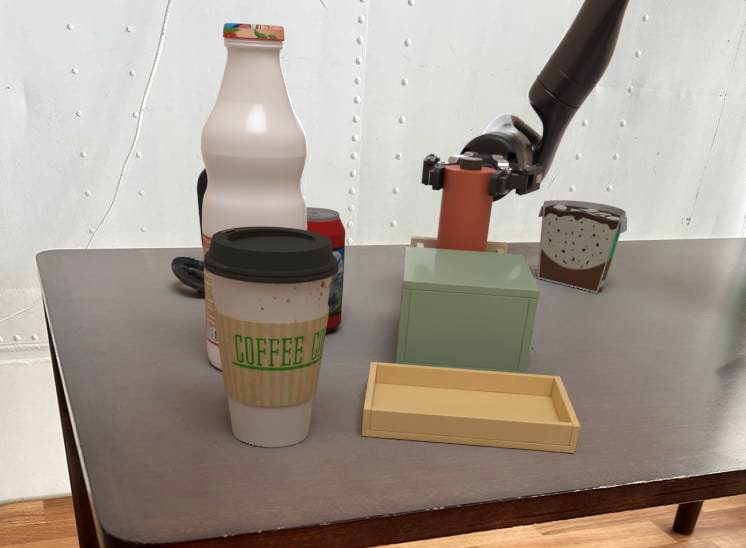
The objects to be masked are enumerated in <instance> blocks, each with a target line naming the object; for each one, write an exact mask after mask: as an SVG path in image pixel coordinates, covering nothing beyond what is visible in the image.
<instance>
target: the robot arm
mask: <svg viewBox="0 0 746 548" xmlns="http://www.w3.org/2000/svg"><path fill="white" fill-rule="evenodd" d="M744 1H745V2H746V0H744ZM629 3H630V0H583V1H582V3H581V5H580V7H579V9H578V11H577V13H576V14H575V16H574V18H573V20H572V21H571V23H570V24H569V26H568V27H567V29H566V31H565V33H564V34H563V36H562V37H561V39H560V41H558V43H557V45H556V47H554V49H553V50H552V53H551V54H550V55H549V57H548V58H547V60H546V62H544V64H543V66H542V67H541V69H540V70H539V72H538V74H537V75H536V77H534V79H533V81H532V83H531V84H530V86H529V88H528V89H527V92H526V97H527V98H526V99H527V102H528V104H529V105H530V107H531V108H532V110H533V111H534V113H535V115H537V117H538V118H539V120H540V122H541V124H542V134H540V133H539V132H537V130H535V129H533V128H532V127H531V126H530V125H529V124H527V123H526V122H525V121H524V120H523V119H521V117H519V116H518V115H516V114H514V113H511V112H502V113H501V114H499V115H497V116H496V117H495V118H494V119H492V120H491V121H490V122H489V124H488V125H487V126H486V128H485V129H484V131H483V132H482V134H479V135H477V136H476V137H474V138H472V139H470V141H468V142H467V143H466V144H465V145H464V147H463V148H462V149H461V152H460V153H459V154H457V155H449V157H448V159H447V160H441V156H438V155H436V154H435V153H430V154H427V155H426V156H425V157H424V159H423V160H422V170H421V184H422V185H424V186H431V190H432V191H440V190H442V188H443V179H444V169H445V166H449V165H460V160H461V158H462V157H474V158H481V159H483V164H482V167H488V168H492V169H495V170H496V172H494V173H493V174H492V176H491V182H490V190H489V196H493V201H492V203H494V202H498V201H499V200H502V199H504V198H505V197H506V196H507V195H509V194H510V193H511V192H513V190H515V191H514V193H515V194H516V195H518V196H525V195H528V194H530V193H534V192H535V191H539V190H540V188H541V183H542V182H543V181H544V180H545V178H546V177H547V175H548V173H549V171H550V169H551V167H552V165H553V163H554V162H553V161H554V159H555V157H556V154H557V152H558V149H559V147H560V144H561V142H562V140H563V137H564V136H565V133H566V131H567V129H568V127H569V125H570V123H571V122H572V120H573V118H574V117H575V116H576V114H577V112H578V111H579V110H580V108H581V107H582V105H584V103H585V101H586V100H587V99H588V98H589V96H590V95H591V93H593V90H594V89H595V88H596V86H597V85H598V83H599V82H600V80H601V79H602V77H603V76H604V75H605V73H606V71H607V69H608V67H609V65H610V63H611V61H612V58H613V56H614V53H615V50H616V47H617V45H618V44H617V43H618V39H619V36H620V32H621V27H622V24H623V20H624V17H625V13H626V11H627V8H628V5H629Z"/></svg>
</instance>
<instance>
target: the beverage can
mask: <svg viewBox="0 0 746 548" xmlns="http://www.w3.org/2000/svg"><path fill="white" fill-rule="evenodd" d="M306 208H307V231H312V232H315V233H319V234H321V235H324V236H326V237H327V238H329V240H330V242H331V247H332V252H333V255H334V256H335V257H336V258H337V261H338V263H337V264H338V268H339V269H338V272H337V273H336V274H335V275H334V276H332V279H331V286H330V292H329V299H328V306H329V314H328V321H327V327H326V333H329V332H331V331H332V330H334V329H335V328H337V327H338V326H339V325H340V324H341V323H342V312H343V311H342V309H343V308H342V307H343V295H344V294H343V293H344V292H343V291H344V276H345V275H344V274H345V254H346V253H345V252H346V251H345V250H346V229H345V226H344V224H343V221H342V220H341V217H340V212H339V211H338V210H334V209H330V208H325V207H313V206H312V207H309V206H306Z"/></svg>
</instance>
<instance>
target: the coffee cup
mask: <svg viewBox="0 0 746 548" xmlns="http://www.w3.org/2000/svg"><path fill="white" fill-rule="evenodd" d="M202 262H203V266H204V268H205V269H206V270H207V271H208V272H210V277H211V283H212V290H213V297H214V302H213V304H212V305H213V312H214V319H215V326H216V333H217V339H218V346H219V353H220V360H221V366H222V370H221V373H222V380H223V385H224V386H223V387H224V392H225V393H226V395H227V402H228V409H229V416H230V423H231V424H230V425H231V431H232V435H233V434H234V435H235V436H234V435H233V436H234V438H236V437H237V438H238V439H239V440H238V439H237V438H236V439H237V440H238V441H240V440H241V441H240V442H242V441H243V442H242V443H244V442H246V443H245V444H247V443H249V444H248V445H250V444H252V445H251V446H254V445H257V446H256V447H260V446H262V447H261V448H283V447H288V446H293V445H296V444H298V443H301V442H303V441H304V440H306V439H307V438H308V436H309V432H310V424H311V418H312V411H313V405H314V398H315V395H316V394H317V392H318V391H317V390H318V384H319V378H320V371H321V365H322V359H323V351H324V346H325V340H326V327H327V321H328V314H329V306H328V299H329V292H330V286H331V279H332V276H334V275H335V274H336V273H337V272H338V269H339V268H338V264H337V263H338V261H337V258H336V257H335V256H334V255H333V252H332V247H331V242H330V240H329V238H327V237H326V236H324V235H321V234H319V233H315V232H312V231H307V230H301V229H295V228H285V227H266V226H256V227H239V228H231V229H226V230H222V231H219V232H217V233H215V234H214V235H213V236H212V239H211V244H210V248H209V251H207V252H206V254H205V256H204V255H203V261H202Z"/></svg>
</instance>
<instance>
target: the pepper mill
mask: <svg viewBox="0 0 746 548" xmlns="http://www.w3.org/2000/svg"><path fill="white" fill-rule="evenodd" d="M482 164H483V159H481V158H474V157H462V158H461V160H460V165H449V166H445V169H444V179H443V188H442V189H441V197H440V198H441V199H440V206H439V207H440V208H439V218H438V227H437V237H436V238H437V245H436V249H449V250H464V251H478V252H486V245H487V241H488V236H489V230H490V223H491V215H492V208H493V202H492V201H493V196H489V190H490V182H491V176H492V174H493V173H494V172H496V170H495V169H492V168H488V167H482Z"/></svg>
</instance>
